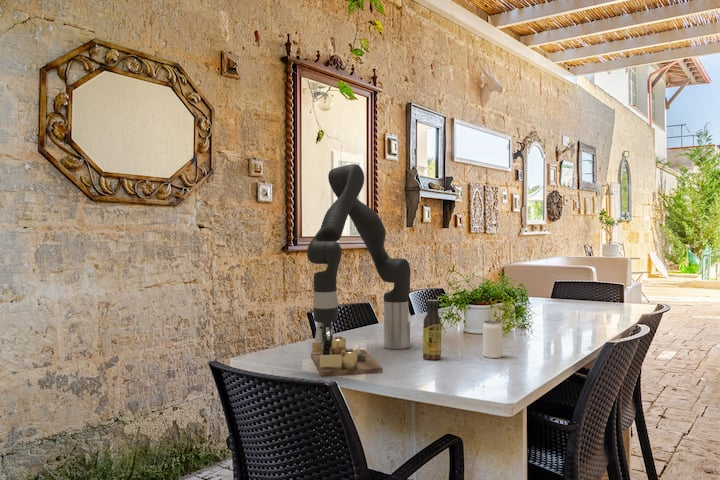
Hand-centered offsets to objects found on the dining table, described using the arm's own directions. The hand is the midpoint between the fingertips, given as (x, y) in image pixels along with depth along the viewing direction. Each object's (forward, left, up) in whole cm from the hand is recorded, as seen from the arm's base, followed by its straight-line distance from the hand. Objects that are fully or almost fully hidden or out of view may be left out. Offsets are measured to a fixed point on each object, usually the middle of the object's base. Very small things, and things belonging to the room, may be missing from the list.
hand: (326, 361), depth 183 cm
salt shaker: (-3, -33, -4) cm, 33 cm away
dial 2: (-3, +3, -2) cm, 5 cm away
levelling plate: (-7, -9, -3) cm, 12 cm away
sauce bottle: (-38, -11, -4) cm, 39 cm away
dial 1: (-3, -19, -2) cm, 20 cm away
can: (-59, -9, -4) cm, 59 cm away
